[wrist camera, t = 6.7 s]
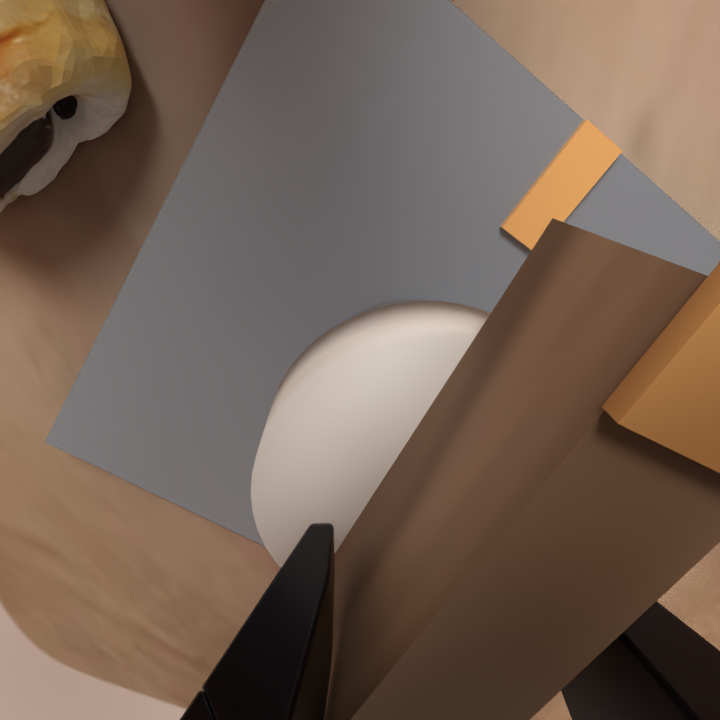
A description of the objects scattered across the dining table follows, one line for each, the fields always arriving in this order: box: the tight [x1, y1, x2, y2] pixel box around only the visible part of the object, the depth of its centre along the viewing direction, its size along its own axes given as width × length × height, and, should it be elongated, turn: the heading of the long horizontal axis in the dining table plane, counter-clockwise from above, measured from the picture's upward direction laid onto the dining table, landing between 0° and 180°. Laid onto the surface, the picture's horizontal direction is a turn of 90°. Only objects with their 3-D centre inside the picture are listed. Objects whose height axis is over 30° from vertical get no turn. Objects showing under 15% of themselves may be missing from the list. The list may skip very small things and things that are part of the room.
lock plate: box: [45, 0, 720, 546], centre depth 13 cm, size 16×16×4 cm
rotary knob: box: [251, 218, 720, 720], centre depth 9 cm, size 7×11×6 cm, turn 153°
